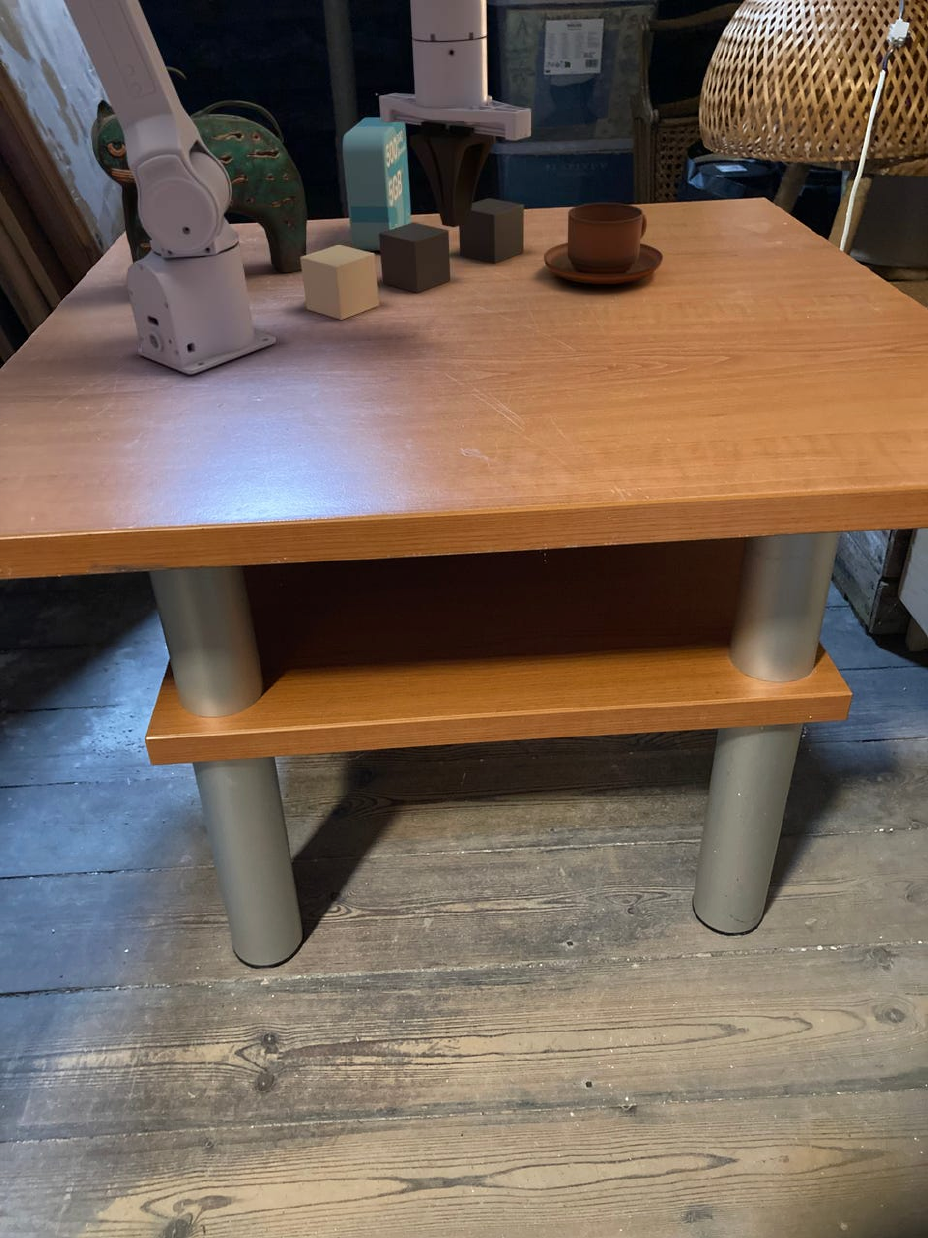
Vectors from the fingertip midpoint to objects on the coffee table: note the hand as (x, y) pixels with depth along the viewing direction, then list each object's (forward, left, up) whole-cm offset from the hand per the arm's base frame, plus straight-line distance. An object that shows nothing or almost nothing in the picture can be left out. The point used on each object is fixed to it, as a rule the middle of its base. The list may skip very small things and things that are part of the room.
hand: (455, 223), depth 82 cm
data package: (+17, +27, -10) cm, 33 cm away
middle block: (+8, +13, -9) cm, 18 cm away
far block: (+20, +13, -9) cm, 26 cm away
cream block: (-2, +13, -9) cm, 16 cm away
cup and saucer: (+21, -1, -10) cm, 23 cm away
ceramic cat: (-4, +30, -10) cm, 32 cm away
